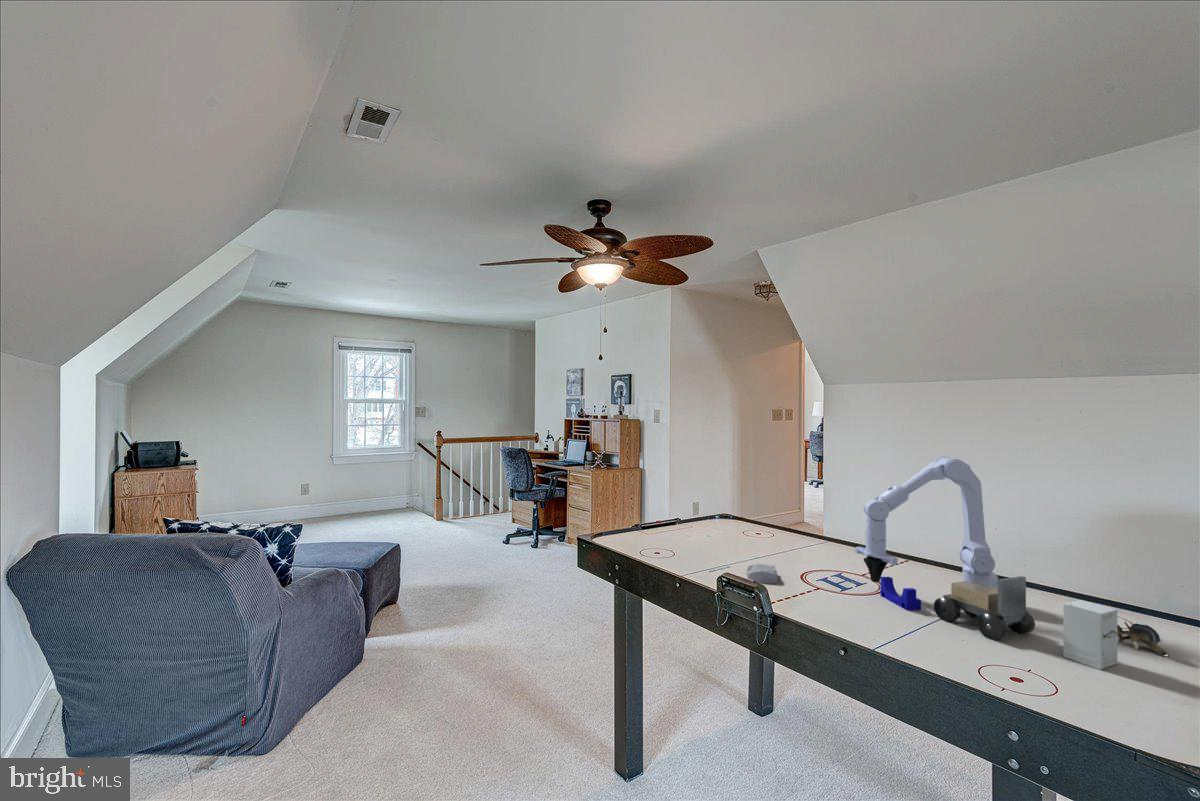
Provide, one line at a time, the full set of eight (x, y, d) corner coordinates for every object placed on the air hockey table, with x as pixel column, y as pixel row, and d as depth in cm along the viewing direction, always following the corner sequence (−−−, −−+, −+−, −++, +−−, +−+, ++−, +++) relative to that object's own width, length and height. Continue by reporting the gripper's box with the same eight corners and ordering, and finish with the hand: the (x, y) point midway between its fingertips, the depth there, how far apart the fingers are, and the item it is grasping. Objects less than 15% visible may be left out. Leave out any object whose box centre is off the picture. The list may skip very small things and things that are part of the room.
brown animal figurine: (1109, 641, 132) (1160, 649, 124) (1109, 613, 135) (1159, 618, 127) (1123, 654, 134) (1174, 662, 127) (1123, 625, 137) (1172, 632, 130)
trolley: (966, 611, 154) (966, 558, 154) (1035, 636, 137) (1035, 577, 137) (933, 616, 150) (933, 562, 150) (1000, 643, 133) (1000, 582, 133)
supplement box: (1101, 670, 119) (1101, 613, 119) (1062, 656, 126) (1061, 602, 126) (1119, 664, 122) (1118, 609, 122) (1079, 651, 129) (1079, 598, 129)
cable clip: (921, 610, 155) (921, 589, 155) (906, 610, 154) (906, 590, 154) (894, 595, 167) (894, 576, 167) (880, 596, 166) (880, 576, 166)
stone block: (749, 588, 178) (780, 584, 176) (746, 573, 178) (777, 569, 176) (747, 578, 190) (776, 574, 188) (744, 564, 190) (773, 561, 188)
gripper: (848, 534, 176) (848, 575, 175) (885, 545, 162) (885, 590, 162) (864, 532, 178) (864, 573, 178) (902, 543, 164) (902, 587, 164)
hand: (875, 581), depth 170 cm, fingers closed
